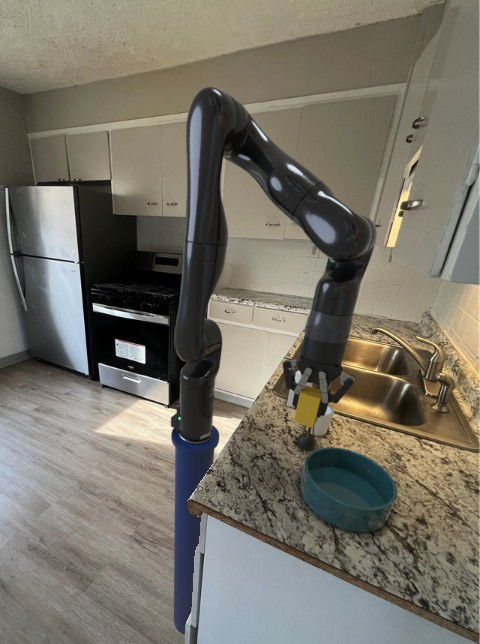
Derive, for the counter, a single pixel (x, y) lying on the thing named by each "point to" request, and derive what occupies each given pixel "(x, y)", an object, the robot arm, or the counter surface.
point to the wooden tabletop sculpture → (308, 434)
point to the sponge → (308, 406)
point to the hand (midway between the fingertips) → (307, 411)
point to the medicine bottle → (291, 392)
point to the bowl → (347, 489)
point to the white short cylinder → (323, 423)
